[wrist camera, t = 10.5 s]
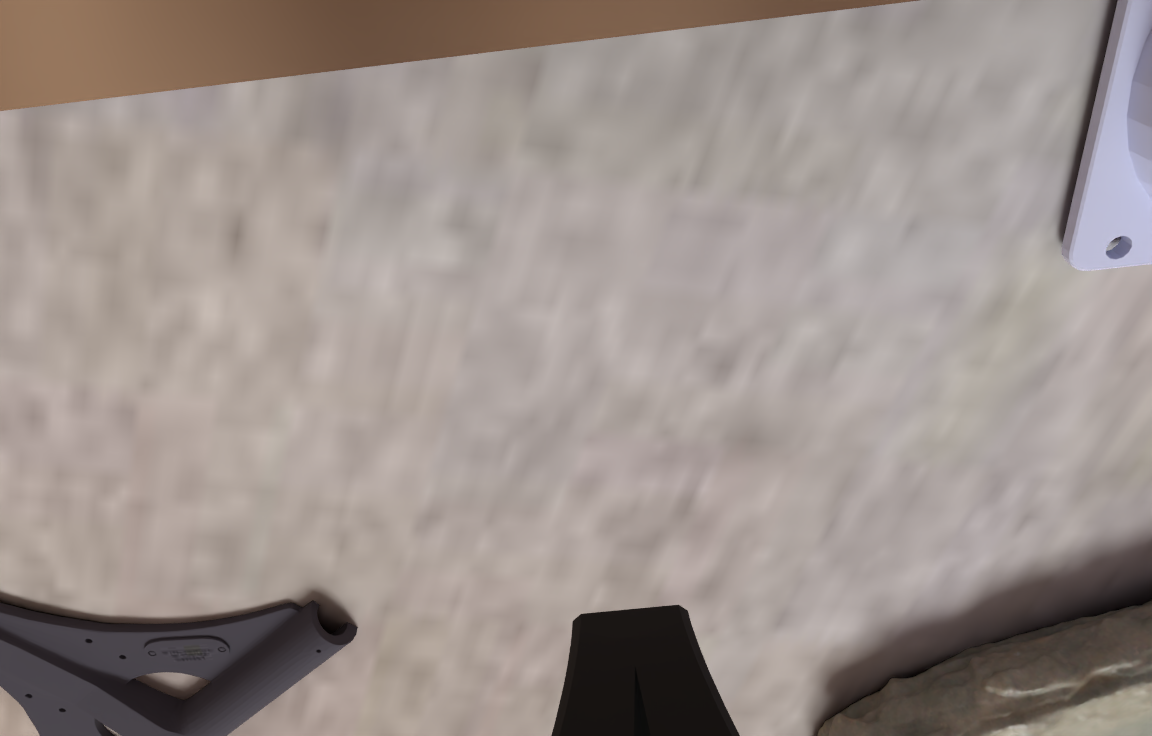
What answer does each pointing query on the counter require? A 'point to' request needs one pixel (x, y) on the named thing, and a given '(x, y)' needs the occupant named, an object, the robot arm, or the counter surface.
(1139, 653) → the elongated rock
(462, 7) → the walnut shelf
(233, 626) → the bracket
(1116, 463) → the counter surface
